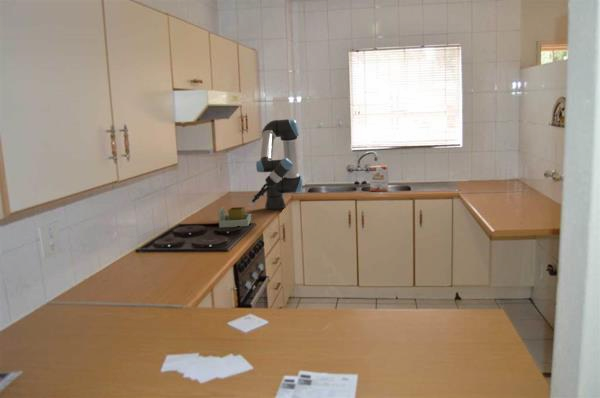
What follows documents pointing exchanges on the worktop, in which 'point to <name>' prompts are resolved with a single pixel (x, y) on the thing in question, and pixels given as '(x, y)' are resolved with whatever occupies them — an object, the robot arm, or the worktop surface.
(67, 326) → the worktop surface
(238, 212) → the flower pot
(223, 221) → the pale green open box
